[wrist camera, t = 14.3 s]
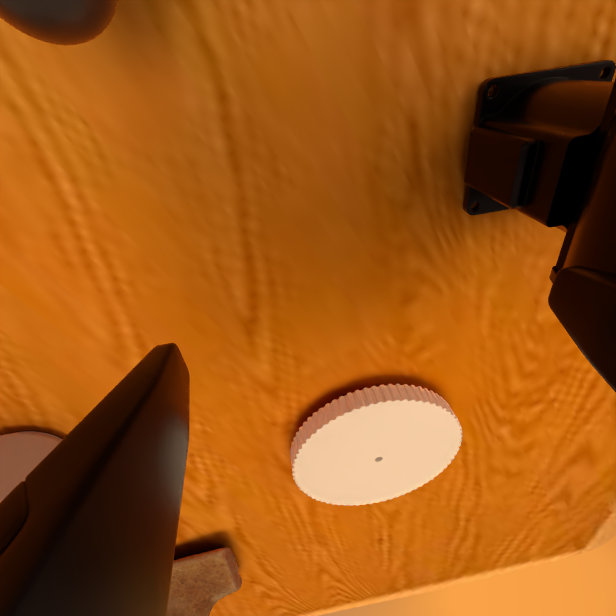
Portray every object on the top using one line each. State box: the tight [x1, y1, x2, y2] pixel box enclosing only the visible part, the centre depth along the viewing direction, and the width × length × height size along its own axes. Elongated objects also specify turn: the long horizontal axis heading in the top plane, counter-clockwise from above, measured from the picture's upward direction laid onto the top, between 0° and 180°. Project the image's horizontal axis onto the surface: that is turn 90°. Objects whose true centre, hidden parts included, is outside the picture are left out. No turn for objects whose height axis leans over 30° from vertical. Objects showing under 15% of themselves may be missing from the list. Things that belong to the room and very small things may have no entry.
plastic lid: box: [290, 384, 463, 506], centre depth 30 cm, size 14×14×2 cm
